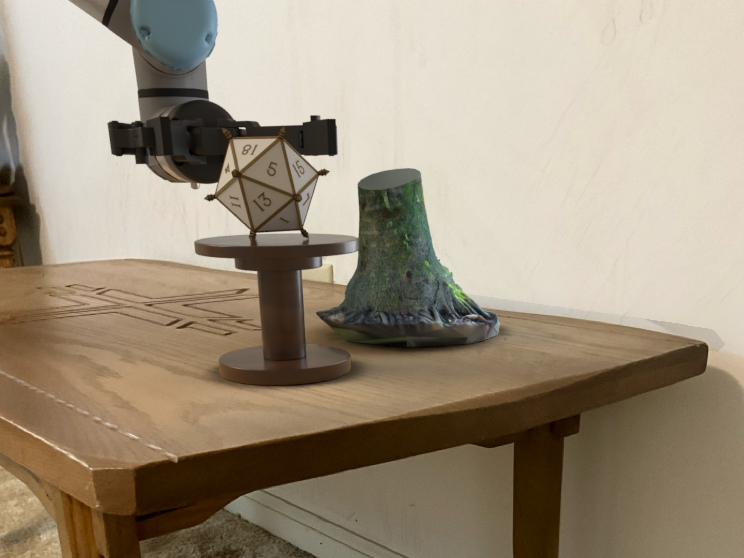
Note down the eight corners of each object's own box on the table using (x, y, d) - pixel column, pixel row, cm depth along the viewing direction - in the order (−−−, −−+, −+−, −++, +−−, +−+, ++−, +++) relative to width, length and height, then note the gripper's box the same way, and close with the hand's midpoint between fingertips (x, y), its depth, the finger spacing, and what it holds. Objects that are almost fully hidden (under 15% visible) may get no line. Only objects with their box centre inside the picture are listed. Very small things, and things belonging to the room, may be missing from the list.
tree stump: (537, 330, 91) (536, 150, 80) (441, 415, 78) (424, 216, 67) (396, 307, 100) (377, 143, 89) (288, 381, 87) (252, 200, 76)
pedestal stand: (185, 366, 74) (170, 238, 69) (318, 349, 80) (312, 231, 76) (244, 396, 64) (232, 249, 59) (391, 374, 70) (389, 240, 66)
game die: (250, 289, 68) (160, 182, 64) (295, 241, 73) (215, 140, 69) (324, 234, 62) (230, 113, 58) (367, 187, 68) (284, 73, 64)
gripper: (315, 181, 92) (394, 184, 74) (73, 185, 83) (97, 189, 65) (312, 104, 89) (393, 87, 71) (59, 99, 80) (81, 78, 62)
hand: (252, 136), depth 68 cm, fingers open, 13 cm apart
